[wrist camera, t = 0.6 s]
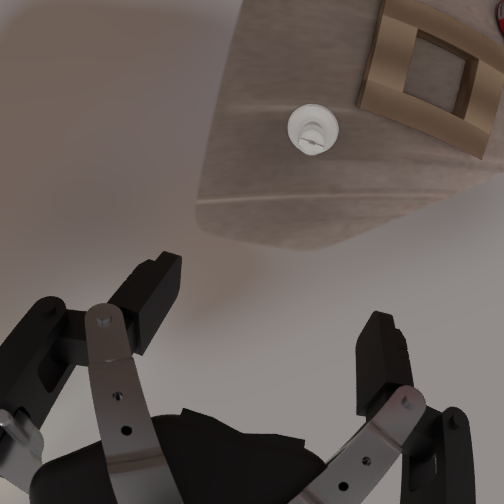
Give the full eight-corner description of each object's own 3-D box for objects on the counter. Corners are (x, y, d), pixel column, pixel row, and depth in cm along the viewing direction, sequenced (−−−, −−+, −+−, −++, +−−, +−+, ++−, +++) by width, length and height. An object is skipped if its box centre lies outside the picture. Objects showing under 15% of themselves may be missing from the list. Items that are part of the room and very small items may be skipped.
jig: (381, -2, 20) (387, -10, 18) (495, 52, 19) (509, 51, 17) (355, 106, 26) (359, 108, 24) (469, 152, 26) (481, 159, 23)
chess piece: (296, 96, 27) (287, 100, 19) (345, 115, 27) (358, 127, 19) (280, 142, 30) (264, 167, 21) (328, 160, 30) (331, 192, 21)
